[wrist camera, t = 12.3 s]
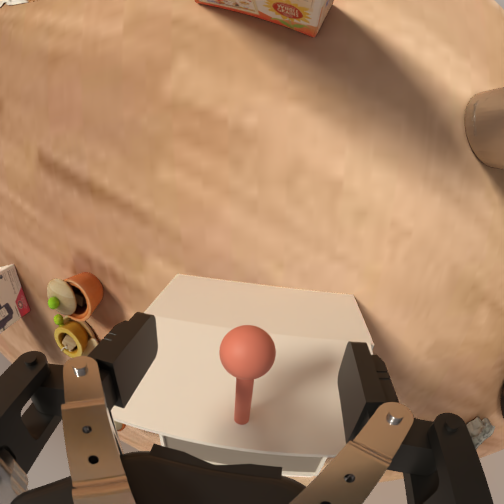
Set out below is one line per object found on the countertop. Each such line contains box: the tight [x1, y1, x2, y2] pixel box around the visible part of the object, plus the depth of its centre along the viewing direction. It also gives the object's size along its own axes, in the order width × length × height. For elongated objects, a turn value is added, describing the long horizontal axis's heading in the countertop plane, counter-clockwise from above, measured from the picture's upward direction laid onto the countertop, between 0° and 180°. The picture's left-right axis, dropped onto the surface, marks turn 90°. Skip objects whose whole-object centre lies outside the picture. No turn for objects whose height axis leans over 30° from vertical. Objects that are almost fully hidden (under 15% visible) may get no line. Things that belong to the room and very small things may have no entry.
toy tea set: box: [47, 272, 126, 431], centre depth 35 cm, size 26×16×10 cm, turn 26°
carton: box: [144, 274, 374, 477], centre depth 34 cm, size 20×31×10 cm, turn 175°
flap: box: [111, 315, 373, 457], centre depth 17 cm, size 19×10×8 cm
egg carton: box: [467, 417, 495, 449], centre depth 37 cm, size 11×8×4 cm
